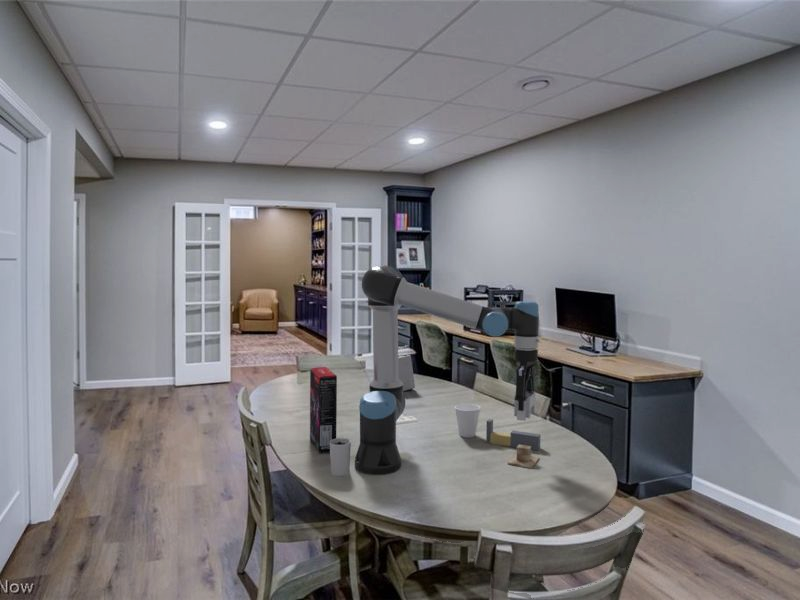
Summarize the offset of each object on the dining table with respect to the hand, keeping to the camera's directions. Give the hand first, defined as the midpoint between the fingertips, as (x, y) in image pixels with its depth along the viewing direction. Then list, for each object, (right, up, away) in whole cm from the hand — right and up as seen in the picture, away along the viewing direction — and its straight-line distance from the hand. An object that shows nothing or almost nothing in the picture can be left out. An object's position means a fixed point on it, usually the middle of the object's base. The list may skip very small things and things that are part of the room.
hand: (524, 416), depth 184 cm
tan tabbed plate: (0, -15, +1) cm, 15 cm away
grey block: (0, +1, 0) cm, 1 cm away
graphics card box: (-69, -14, +16) cm, 72 cm away
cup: (-16, -13, +28) cm, 34 cm away
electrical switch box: (-44, -7, +102) cm, 112 cm away
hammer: (0, -14, +16) cm, 21 cm away
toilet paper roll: (-60, -16, -9) cm, 63 cm away
